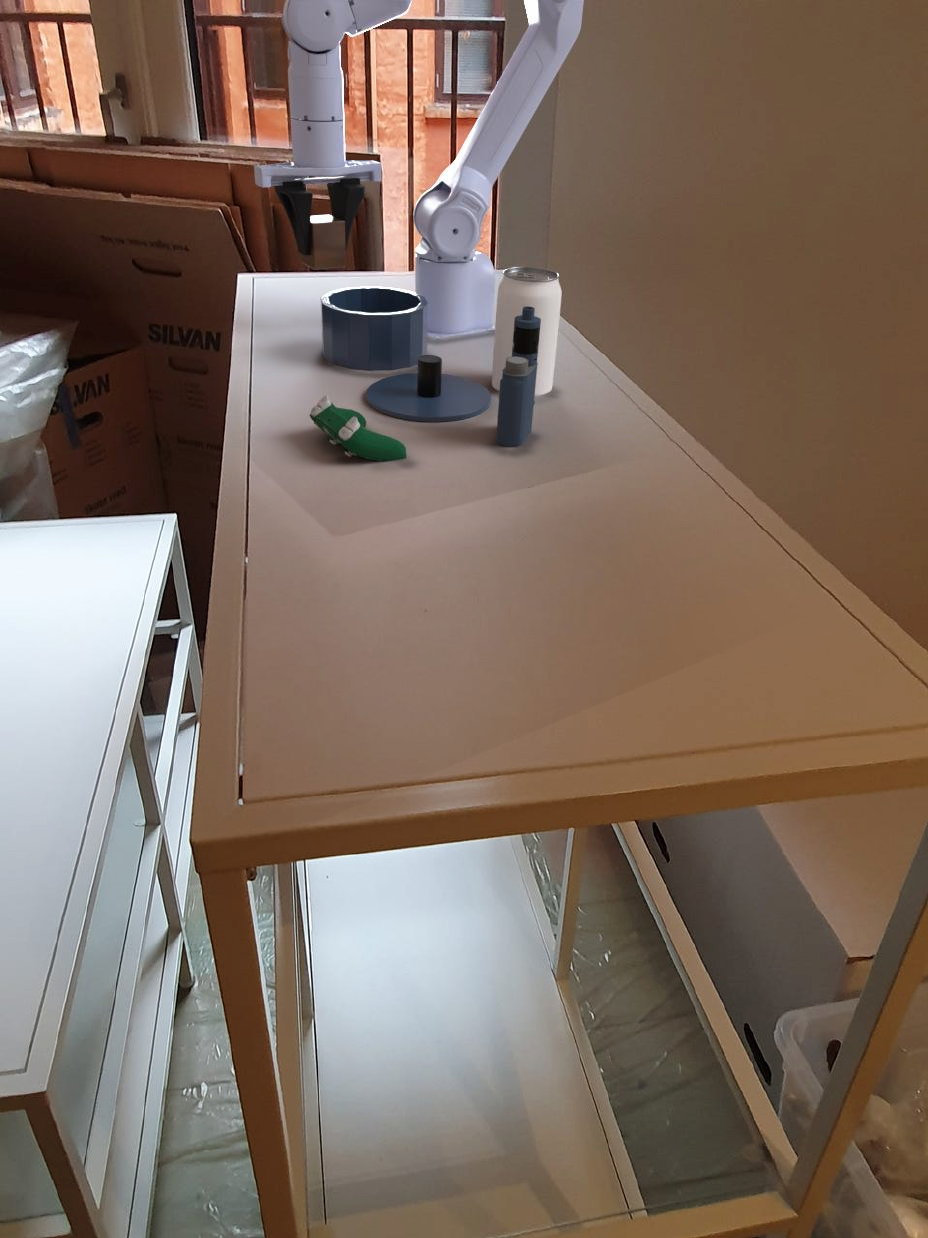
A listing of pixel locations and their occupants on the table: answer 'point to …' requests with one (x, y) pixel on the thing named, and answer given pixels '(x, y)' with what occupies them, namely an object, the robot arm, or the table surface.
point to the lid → (428, 394)
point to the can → (545, 297)
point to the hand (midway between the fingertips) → (323, 251)
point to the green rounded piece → (355, 433)
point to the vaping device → (519, 382)
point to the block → (326, 243)
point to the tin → (374, 328)
